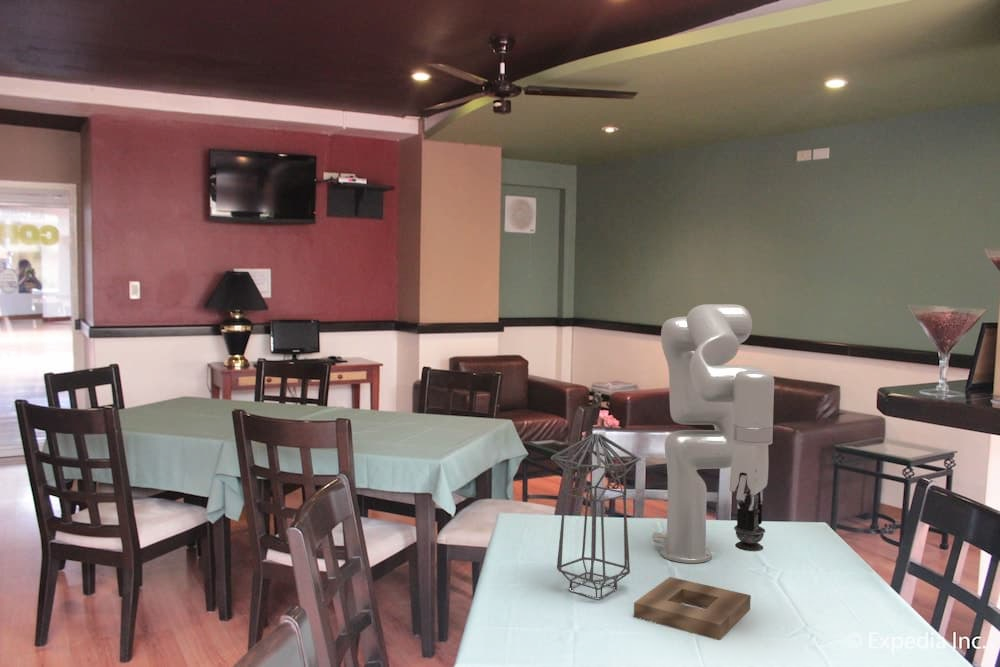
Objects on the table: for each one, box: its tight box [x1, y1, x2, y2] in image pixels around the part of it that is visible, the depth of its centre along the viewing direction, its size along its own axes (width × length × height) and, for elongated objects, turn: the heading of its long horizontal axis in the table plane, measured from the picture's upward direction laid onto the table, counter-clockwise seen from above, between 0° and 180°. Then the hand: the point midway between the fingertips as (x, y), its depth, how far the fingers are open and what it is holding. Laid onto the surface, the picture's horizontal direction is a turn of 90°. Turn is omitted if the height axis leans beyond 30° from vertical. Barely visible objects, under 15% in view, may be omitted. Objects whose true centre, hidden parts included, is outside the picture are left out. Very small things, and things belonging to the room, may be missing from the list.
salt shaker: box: [733, 491, 766, 552], centre depth 156 cm, size 6×6×12 cm
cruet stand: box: [633, 576, 752, 641], centre depth 164 cm, size 18×18×3 cm
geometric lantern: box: [550, 433, 642, 599], centre depth 176 cm, size 16×16×35 cm
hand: (749, 525), depth 156 cm, fingers closed on salt shaker, 4 cm apart
